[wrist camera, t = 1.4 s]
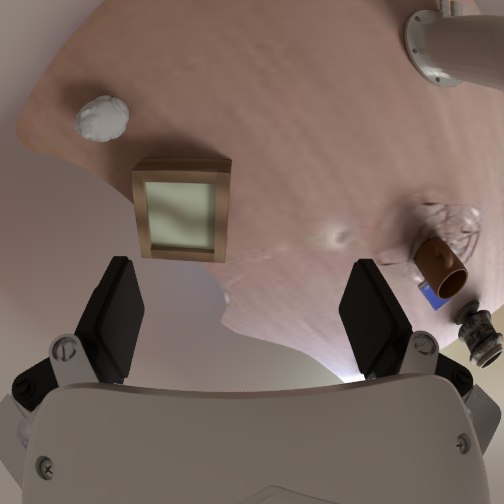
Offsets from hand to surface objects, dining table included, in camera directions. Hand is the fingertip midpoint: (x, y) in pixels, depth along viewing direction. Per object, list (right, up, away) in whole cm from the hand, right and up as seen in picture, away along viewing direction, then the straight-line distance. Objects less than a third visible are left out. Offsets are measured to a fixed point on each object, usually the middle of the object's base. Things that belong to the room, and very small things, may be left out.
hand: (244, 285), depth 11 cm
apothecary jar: (+62, -16, +47) cm, 80 cm away
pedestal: (-9, +9, +26) cm, 29 cm away
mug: (+34, +3, +32) cm, 47 cm away
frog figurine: (-18, +20, +18) cm, 32 cm away
